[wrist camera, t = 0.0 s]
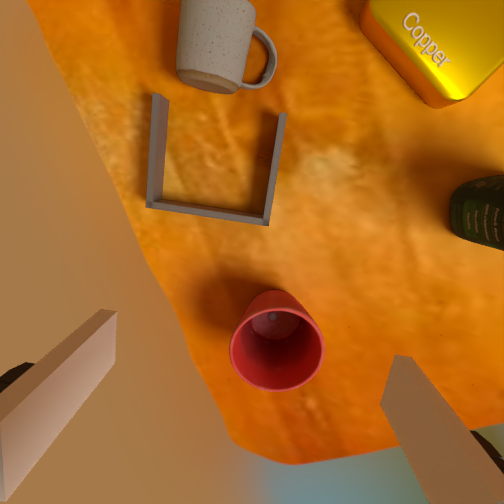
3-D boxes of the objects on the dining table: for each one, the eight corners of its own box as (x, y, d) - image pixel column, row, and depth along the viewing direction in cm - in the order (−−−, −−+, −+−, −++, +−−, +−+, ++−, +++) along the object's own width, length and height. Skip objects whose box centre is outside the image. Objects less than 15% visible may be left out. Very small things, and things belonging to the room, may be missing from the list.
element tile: (349, 21, 36) (362, -1, 31) (457, -103, 32) (489, -149, 28) (435, 117, 38) (459, 109, 33) (544, 9, 34) (587, -16, 30)
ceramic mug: (182, 89, 38) (163, 69, 30) (191, 11, 35) (173, -31, 28) (268, 106, 38) (271, 91, 30) (282, 30, 36) (289, -6, 28)
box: (162, 99, 38) (152, 92, 35) (285, 118, 38) (287, 113, 34) (155, 204, 41) (145, 207, 38) (268, 221, 41) (268, 226, 38)
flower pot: (225, 292, 44) (214, 324, 35) (300, 269, 43) (310, 296, 33) (249, 355, 46) (246, 402, 37) (321, 335, 45) (336, 379, 36)
